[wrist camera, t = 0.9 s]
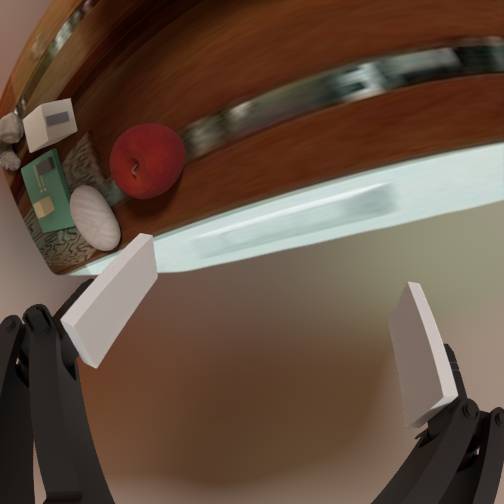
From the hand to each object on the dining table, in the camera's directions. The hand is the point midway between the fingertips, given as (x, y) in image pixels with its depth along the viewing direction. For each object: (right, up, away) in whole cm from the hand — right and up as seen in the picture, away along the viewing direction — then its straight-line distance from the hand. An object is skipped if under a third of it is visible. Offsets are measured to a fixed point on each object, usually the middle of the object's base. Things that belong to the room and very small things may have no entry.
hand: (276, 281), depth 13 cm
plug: (-34, +24, +22) cm, 48 cm away
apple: (-13, +16, +23) cm, 31 cm away
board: (-43, +14, +30) cm, 54 cm away
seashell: (-52, +27, +25) cm, 63 cm away
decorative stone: (-28, +9, +31) cm, 42 cm away
